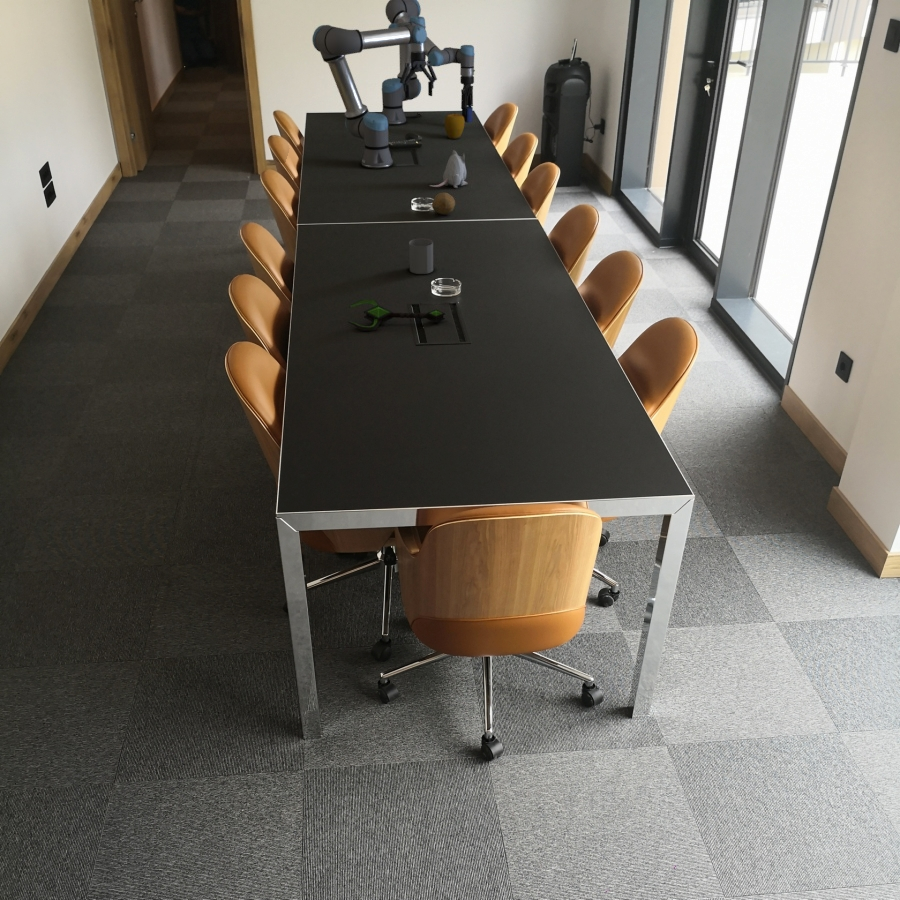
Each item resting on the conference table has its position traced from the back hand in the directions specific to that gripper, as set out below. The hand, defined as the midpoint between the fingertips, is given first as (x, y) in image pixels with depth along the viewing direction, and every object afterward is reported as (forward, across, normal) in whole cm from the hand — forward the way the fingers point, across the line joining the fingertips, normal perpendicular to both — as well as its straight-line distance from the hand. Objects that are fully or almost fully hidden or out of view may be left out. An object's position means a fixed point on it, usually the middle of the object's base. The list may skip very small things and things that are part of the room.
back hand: (467, 119), depth 492 cm
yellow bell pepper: (+5, -24, -1) cm, 25 cm away
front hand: (-21, -54, +7) cm, 59 cm away
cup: (+6, -215, -57) cm, 223 cm away
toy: (+6, -116, -30) cm, 120 cm away
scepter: (+6, -260, -66) cm, 268 cm away
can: (+1, 0, 0) cm, 1 cm away
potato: (+6, -152, -42) cm, 158 cm away
